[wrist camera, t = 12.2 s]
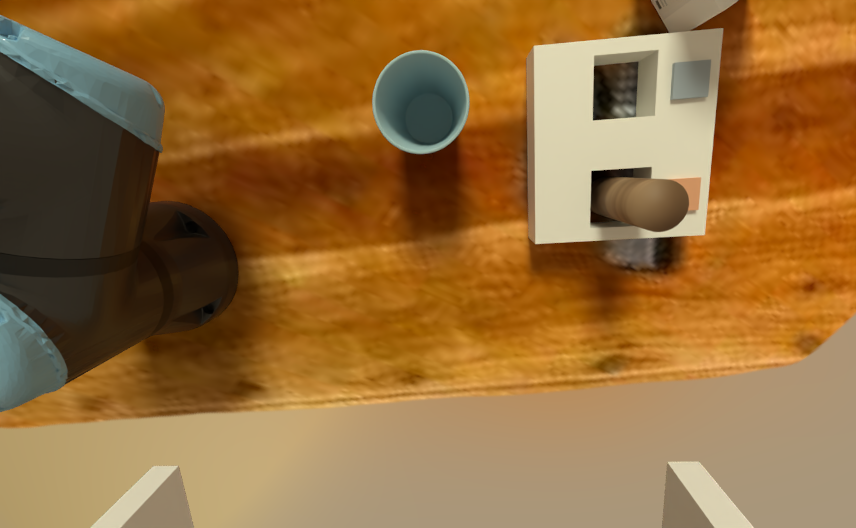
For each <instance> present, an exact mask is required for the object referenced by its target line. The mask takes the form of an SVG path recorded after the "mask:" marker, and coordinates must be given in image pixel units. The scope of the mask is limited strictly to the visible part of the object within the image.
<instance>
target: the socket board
mask: <svg viewBox="0 0 856 528" xmlns="http://www.w3.org/2000/svg"><path fill="white" fill-rule="evenodd" d="M722 38H723V28H717V29H707V30H696V31H686V32H675V33H665V34H654V35H644V36H633V37H623V38H612V39H602V40H591V41H581V42H570V43H560V44H549V45H539V46H534V47H533V48H532V50H531V51H530V53H529V55H528V56H527V58H526V74H527V161H528V237H529V238H530V239H531V240H532V241H533V242H534V243H535V244H545V243H564V242H583V241H601V240H620V239H638V238H657V237H675V236H694V235H705V227H706V215H707V204H708V193H709V182H710V171H711V160H712V149H713V138H714V127H715V116H716V105H717V93H718V82H719V71H720V60H721V49H722ZM630 62H638V82H637V103H636V117H634V118H622V119H609V120H596V121H593V80H594V66H596V65H607V64H618V63H630ZM626 168H633V178H650V179H668V180H673V181H676V182H678V183H679V184H681V185H682V186H683V187H684V188H685V190H686V192H687V194H688V197H689V208H688V211H687V214H686V216H685V217H684V219H683V220H682V221H681V222H680V223H679V224H678V225H677V226H676V227H674V228H672V229H670V230H668V231H664V232H652V231H649V230H646V229H643V228H639V227H636V226H633V225H630V224H627V223H624V222H620V221H607V222H590V206H591V171H597V170H611V169H626Z"/></svg>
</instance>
